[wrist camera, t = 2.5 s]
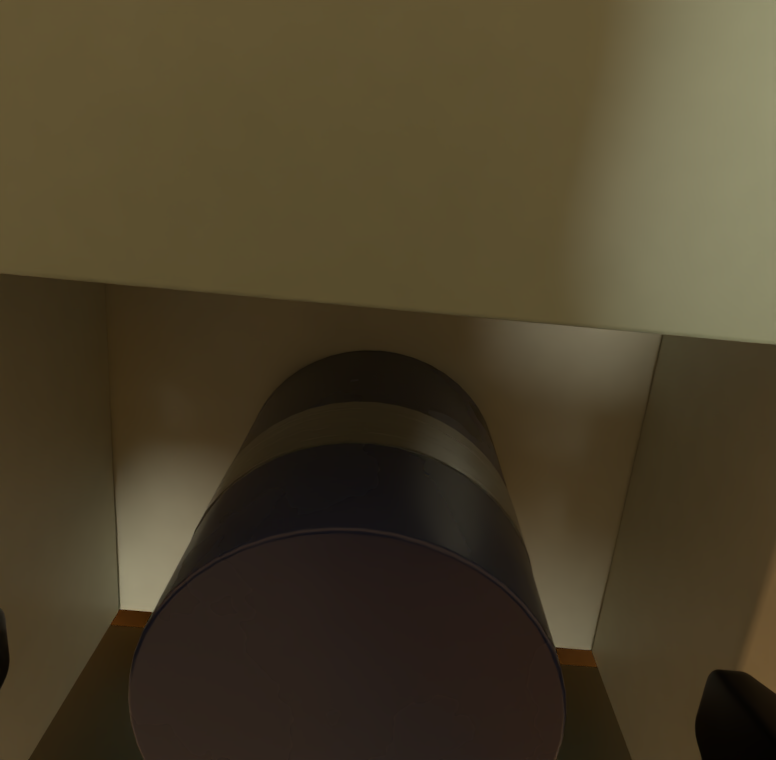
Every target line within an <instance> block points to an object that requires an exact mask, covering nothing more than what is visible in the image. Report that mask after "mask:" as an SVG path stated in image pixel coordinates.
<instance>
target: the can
mask: <svg viewBox="0 0 776 760" xmlns="http://www.w3.org/2000/svg"><path fill="white" fill-rule="evenodd" d="M128 703H129V712H130V720H131V726H132V729H133V733H134V736H135V740H136V743H137V746H138V748H139V751H140V753H141V755H142V757H143V759H144V760H556V759H557V756H558V753H559V749H560V746H561V743H562V740H563V736H564V728H565V721H566V689H565V684H564V679H563V674H562V669H561V665H560V662H559V659H558V655H557V652H556V649H555V645H554V642H553V639H552V635H551V632H550V629H549V626H548V622H547V619H546V616H545V612H544V609H543V606H542V602H541V599H540V596H539V592H538V589H537V586H536V583H535V579H534V576H533V572H532V567H531V562H530V558H529V554H528V551H527V548H526V545H525V541H524V538H523V535H522V532H521V528H520V525H519V522H518V519H517V515H516V512H515V509H514V506H513V503H512V500H511V498H510V495H509V492H508V489H507V487H506V483H505V480H504V477H503V473H502V470H501V467H500V464H499V460H498V457H497V454H496V450H495V447H494V444H493V440H492V437H491V434H490V432H489V429H488V426H487V423H486V421H485V419H484V417H483V415H482V414H481V412H480V410H479V408H478V407H477V405H476V404H475V403H474V401H473V400H472V399H471V397H470V396H469V395H468V394H467V393H466V392H465V391H464V390H463V389H462V387H461V386H460V385H459V384H458V383H456V382H455V381H454V380H453V379H451V378H450V377H449V376H447V375H446V374H445V373H443V372H442V371H440V370H438V369H436V368H435V367H433V366H431V365H429V364H427V363H425V362H422V361H420V360H418V359H416V358H412V357H409V356H405V355H402V354H398V353H392V352H386V351H370V350H363V351H352V352H345V353H341V354H336V355H332V356H329V357H326V358H323V359H321V360H318V361H315V362H313V363H311V364H309V365H307V366H305V367H304V368H302V369H300V370H298V371H297V372H296V373H294V374H293V375H291V376H290V377H289V378H287V379H286V380H285V381H284V382H283V383H282V384H281V385H280V386H279V387H278V388H277V389H275V391H274V392H273V393H272V394H271V396H270V397H269V398H268V399H267V401H266V402H265V404H264V405H263V407H262V409H261V410H260V412H259V414H258V415H257V417H256V419H255V421H254V423H253V425H252V427H251V429H250V430H249V432H248V434H247V436H246V438H245V440H244V442H243V444H242V445H241V447H240V449H239V451H238V453H237V455H236V457H235V459H234V460H233V462H232V464H231V465H230V467H229V468H228V470H227V472H226V474H225V475H224V477H223V479H222V480H221V482H220V484H219V486H218V488H217V490H216V491H215V493H214V495H213V497H212V499H211V501H210V503H209V504H208V506H207V508H206V510H205V512H204V514H203V516H202V517H201V519H200V521H199V523H198V525H197V527H196V529H195V531H194V534H193V536H192V539H191V541H190V543H189V545H188V547H187V549H186V550H185V552H184V554H183V556H182V558H181V560H180V562H179V564H178V565H177V567H176V569H175V571H174V573H173V575H172V577H171V579H170V580H169V582H168V584H167V586H166V588H165V590H164V592H163V594H162V595H161V597H160V599H159V601H158V603H157V605H156V607H155V609H154V610H153V612H152V614H151V616H150V618H149V620H148V622H147V624H146V625H145V627H144V629H143V631H142V634H141V636H140V639H139V641H138V644H137V646H136V649H135V651H134V655H133V660H132V664H131V669H130V674H129V690H128Z"/></svg>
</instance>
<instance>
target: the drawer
mask: <svg viewBox="0 0 776 760" xmlns="http://www.w3.org/2000/svg"><path fill="white" fill-rule="evenodd" d="M363 350H370V351H386V352H392V353H398V354H402V355H405V356H409V357H412V358H416V359H418V360H420V361H422V362H425V363H427V364H429V365H431V366H433V367H435V368H436V369H438V370H440V371H442V372H443V373H445V374H446V375H447V376H449V377H450V378H451V379H453V380H454V381H455V382H456V383H458V384H459V385H460V386H461V387H462V389H463V390H464V391H465V392H466V393H467V394H468V395H469V396H470V397H471V399H472V400H473V401H474V403H475V404H476V405H477V407H478V408H479V410H480V412H481V414H482V415H483V417H484V419H485V421H486V423H487V426H488V429H489V432H490V434H491V437H492V440H493V444H494V447H495V450H496V454H497V457H498V460H499V464H500V467H501V470H502V473H503V477H504V480H505V483H506V487H507V489H508V492H509V495H510V498H511V500H512V503H513V506H514V509H515V512H516V515H517V519H518V522H519V525H520V528H521V532H522V535H523V538H524V541H525V545H526V548H527V551H528V554H529V558H530V562H531V567H532V572H533V576H534V579H535V583H536V586H537V589H538V592H539V596H540V599H541V602H542V606H543V609H544V612H545V616H546V619H547V622H548V626H549V629H550V632H551V635H552V639H553V642H554V645H555V647H557V648H569V649H580V650H591V651H592V654H593V656H594V659H595V662H596V664H597V667H586V666H575V665H564V664H560V665H561V669H562V674H563V679H564V684H565V689H566V721H565V728H564V736H563V740H562V743H561V746H560V749H559V753H558V756H557V759H556V760H702V758H701V755H700V751H699V748H698V744H697V741H696V736H695V719H696V715H697V711H698V708H699V704H700V701H701V698H702V694H703V691H704V687H705V684H706V680H707V678H708V675H709V674H710V673H711V672H712V671H713V670H716V669H721V670H733V671H742V672H746V673H748V674H749V675H751V676H752V677H754V678H755V679H756V680H758V681H759V682H761V683H762V684H763V685H765V686H766V687H767V688H769V689H770V690H771V691H773V692H774V693H776V345H770V344H759V343H749V342H738V341H727V340H716V339H705V338H694V337H683V336H672V335H662V334H651V333H640V332H629V331H618V330H607V329H596V328H586V327H575V326H564V325H553V324H542V323H531V322H520V321H510V320H499V319H488V318H477V317H466V316H455V315H444V314H433V313H423V312H412V311H401V310H390V309H379V308H368V307H357V306H347V305H336V304H325V303H314V302H303V301H292V300H281V299H270V298H260V297H249V296H238V295H227V294H216V293H205V292H194V291H184V290H173V289H162V288H151V287H140V286H129V285H118V284H108V283H97V282H86V281H75V280H64V279H53V278H42V277H31V276H21V275H10V274H0V608H1V609H2V610H3V612H4V614H5V618H6V627H7V637H8V646H9V655H10V663H9V670H8V673H7V676H6V679H5V681H4V683H3V685H2V687H1V689H0V760H144V759H143V757H142V755H141V753H140V751H139V748H138V746H137V743H136V740H135V736H134V733H133V729H132V726H131V720H130V712H129V703H128V690H129V674H130V669H131V664H132V660H133V655H134V651H135V649H136V646H137V644H138V641H139V639H140V636H141V634H142V631H143V629H144V628H139V627H127V626H116V625H110V624H111V623H112V621H113V619H114V618H115V616H116V614H117V613H118V611H119V609H122V610H134V611H145V612H153V610H154V609H155V607H156V605H157V603H158V601H159V599H160V597H161V595H162V594H163V592H164V590H165V588H166V586H167V584H168V582H169V580H170V579H171V577H172V575H173V573H174V571H175V569H176V567H177V565H178V564H179V562H180V560H181V558H182V556H183V554H184V552H185V550H186V549H187V547H188V545H189V543H190V541H191V539H192V536H193V534H194V531H195V529H196V527H197V525H198V523H199V521H200V519H201V517H202V516H203V514H204V512H205V510H206V508H207V506H208V504H209V503H210V501H211V499H212V497H213V495H214V493H215V491H216V490H217V488H218V486H219V484H220V482H221V480H222V479H223V477H224V475H225V474H226V472H227V470H228V468H229V467H230V465H231V464H232V462H233V460H234V459H235V457H236V455H237V453H238V451H239V449H240V447H241V445H242V444H243V442H244V440H245V438H246V436H247V434H248V432H249V430H250V429H251V427H252V425H253V423H254V421H255V419H256V417H257V415H258V414H259V412H260V410H261V409H262V407H263V405H264V404H265V402H266V401H267V399H268V398H269V397H270V396H271V394H272V393H273V392H274V391H275V389H277V388H278V387H279V386H280V385H281V384H282V383H283V382H284V381H285V380H286V379H287V378H289V377H290V376H291V375H293V374H294V373H296V372H297V371H298V370H300V369H302V368H304V367H305V366H307V365H309V364H311V363H313V362H315V361H318V360H321V359H323V358H326V357H329V356H332V355H336V354H341V353H345V352H352V351H363Z"/></svg>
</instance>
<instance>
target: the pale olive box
mask: <svg viewBox="0 0 776 760" xmlns="http://www.w3.org/2000/svg"><path fill="white" fill-rule="evenodd" d="M0 274H10V275H21V276H31V277H42V278H53V279H64V280H75V281H86V282H97V283H108V284H118V285H129V286H140V287H151V288H162V289H173V290H184V291H194V292H205V293H216V294H227V295H238V296H249V297H260V298H270V299H281V300H292V301H303V302H314V303H325V304H336V305H347V306H357V307H368V308H379V309H390V310H401V311H412V312H423V313H433V314H444V315H455V316H466V317H477V318H488V319H499V320H510V321H520V322H531V323H542V324H553V325H564V326H575V327H586V328H596V329H607V330H618V331H629V332H640V333H651V334H662V335H672V336H683V337H694V338H705V339H716V340H727V341H738V342H749V343H759V344H770V345H776V0H0Z"/></svg>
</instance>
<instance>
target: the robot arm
mask: <svg viewBox="0 0 776 760" xmlns="http://www.w3.org/2000/svg"><path fill="white" fill-rule="evenodd" d="M9 663H10V655H9V646H8V637H7V627H6V618H5V614H4V612H3V610H2V609H1V608H0V689H1V687H2V685H3V683H4V681H5V679H6V676H7V673H8V670H9ZM695 736H696V741H697V744H698V748H699V751H700V755H701V758H702V760H776V693H774V692H773V691H771V690H770V689H769V688H767V687H766V686H765V685H763V684H762V683H761V682H759V681H758V680H756V679H755V678H754V677H752V676H751V675H749V674H748V673H746V672H742V671H733V670H721V669H716V670H713V671H712V672H711V673H710V674H709V675H708V678H707V680H706V684H705V687H704V691H703V694H702V698H701V701H700V704H699V708H698V711H697V715H696V719H695Z"/></svg>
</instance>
